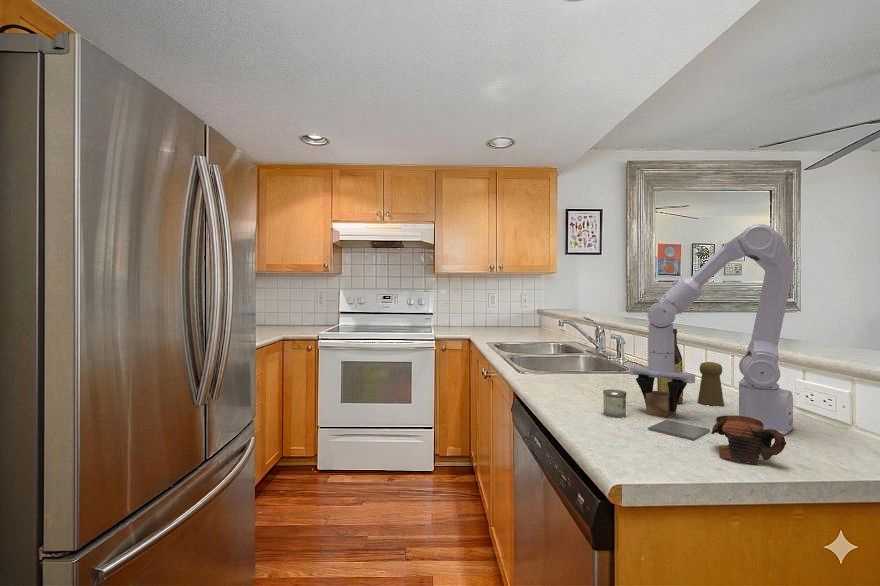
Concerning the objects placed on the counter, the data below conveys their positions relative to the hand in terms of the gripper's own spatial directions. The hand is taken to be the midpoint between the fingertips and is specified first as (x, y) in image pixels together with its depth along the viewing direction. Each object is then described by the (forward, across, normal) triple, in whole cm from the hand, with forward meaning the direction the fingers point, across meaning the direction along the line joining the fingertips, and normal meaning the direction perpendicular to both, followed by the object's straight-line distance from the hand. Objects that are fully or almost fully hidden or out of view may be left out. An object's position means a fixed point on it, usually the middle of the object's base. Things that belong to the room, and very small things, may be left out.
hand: (660, 408), depth 106 cm
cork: (+2, +4, +21) cm, 21 cm away
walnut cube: (+1, 0, 0) cm, 1 cm away
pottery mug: (+2, +22, -17) cm, 28 cm away
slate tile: (+1, +8, -10) cm, 13 cm away
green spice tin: (+2, -7, -9) cm, 12 cm away
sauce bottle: (+2, -4, +15) cm, 16 cm away
